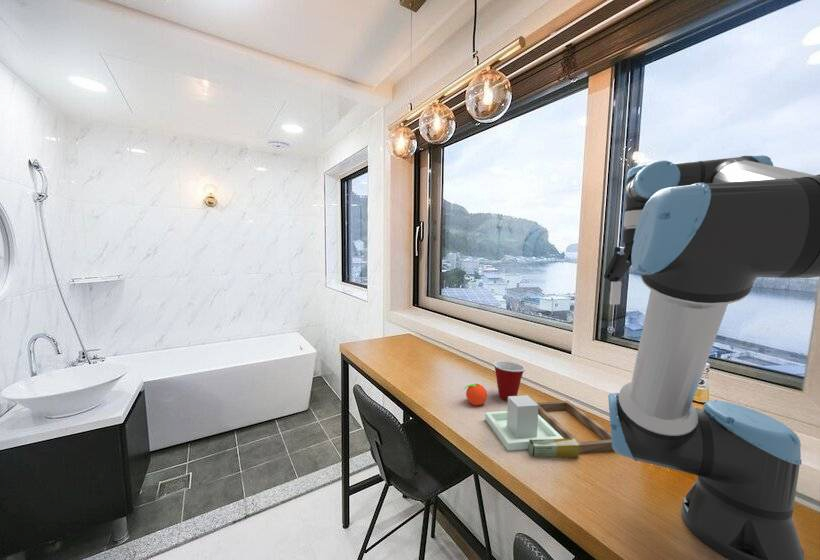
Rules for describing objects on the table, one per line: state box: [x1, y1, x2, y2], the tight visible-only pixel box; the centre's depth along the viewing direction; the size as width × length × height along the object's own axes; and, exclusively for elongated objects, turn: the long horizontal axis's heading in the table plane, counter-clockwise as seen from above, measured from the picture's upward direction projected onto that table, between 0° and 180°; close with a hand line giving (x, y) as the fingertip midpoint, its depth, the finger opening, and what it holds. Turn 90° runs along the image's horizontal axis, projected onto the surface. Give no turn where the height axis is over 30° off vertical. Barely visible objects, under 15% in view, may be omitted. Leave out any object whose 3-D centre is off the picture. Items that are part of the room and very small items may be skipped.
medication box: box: [528, 439, 580, 458], centre depth 80 cm, size 12×3×4 cm, turn 91°
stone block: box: [506, 395, 539, 438], centre depth 88 cm, size 6×6×9 cm
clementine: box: [462, 383, 488, 406], centre depth 106 cm, size 8×7×7 cm
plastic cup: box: [493, 360, 526, 402], centre depth 111 cm, size 11×11×12 cm
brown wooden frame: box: [536, 400, 615, 454], centre depth 92 cm, size 22×12×2 cm, turn 8°
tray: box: [484, 410, 564, 452], centre depth 89 cm, size 15×15×3 cm
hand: (634, 308), depth 84 cm, fingers open, 13 cm apart
